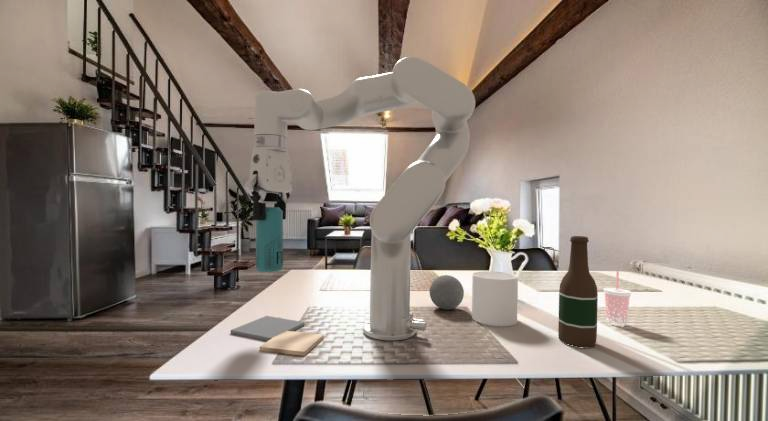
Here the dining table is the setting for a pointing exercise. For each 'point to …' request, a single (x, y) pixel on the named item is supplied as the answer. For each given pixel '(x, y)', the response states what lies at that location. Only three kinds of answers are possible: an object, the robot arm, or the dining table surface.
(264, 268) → the beverage bottle
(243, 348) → the dining table surface
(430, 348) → the dining table surface
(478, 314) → the cup
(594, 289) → the beer bottle
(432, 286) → the decorative ball
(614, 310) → the beverage cup
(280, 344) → the light wooden coaster
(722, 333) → the dining table surface
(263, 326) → the slate coaster
